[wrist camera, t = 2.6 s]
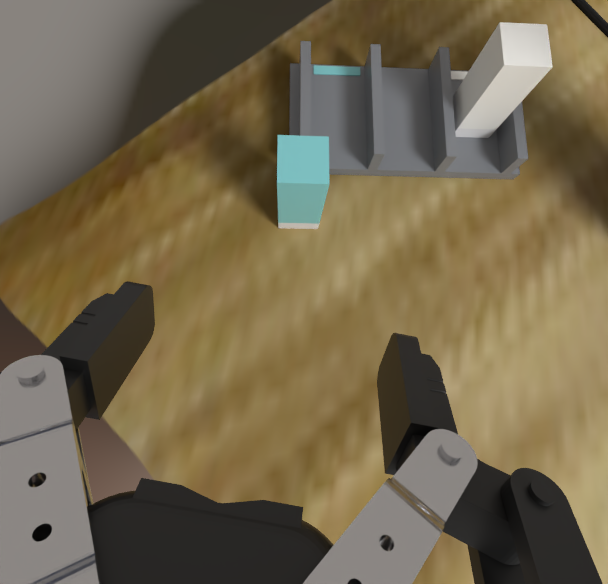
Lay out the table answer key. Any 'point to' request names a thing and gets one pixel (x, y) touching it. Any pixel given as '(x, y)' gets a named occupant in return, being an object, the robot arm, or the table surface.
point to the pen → (592, 15)
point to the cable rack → (397, 120)
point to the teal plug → (302, 180)
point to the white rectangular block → (501, 78)
